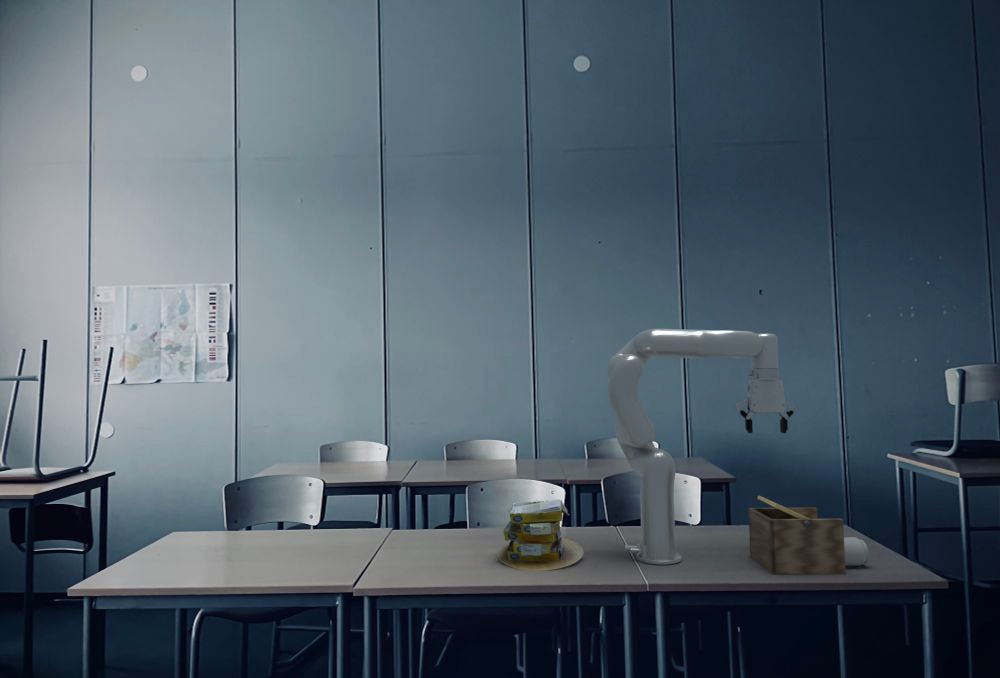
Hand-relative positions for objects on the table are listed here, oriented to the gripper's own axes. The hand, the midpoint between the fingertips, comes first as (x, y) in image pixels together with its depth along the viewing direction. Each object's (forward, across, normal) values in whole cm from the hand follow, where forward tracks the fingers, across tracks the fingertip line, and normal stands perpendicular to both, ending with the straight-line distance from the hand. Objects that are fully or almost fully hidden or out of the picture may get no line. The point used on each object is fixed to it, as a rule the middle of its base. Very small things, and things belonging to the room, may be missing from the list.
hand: (766, 432), depth 200 cm
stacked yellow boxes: (+37, -67, -6) cm, 77 cm away
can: (+31, +9, -13) cm, 35 cm away
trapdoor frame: (+35, +3, -12) cm, 37 cm away
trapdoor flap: (+22, +3, -12) cm, 25 cm away
